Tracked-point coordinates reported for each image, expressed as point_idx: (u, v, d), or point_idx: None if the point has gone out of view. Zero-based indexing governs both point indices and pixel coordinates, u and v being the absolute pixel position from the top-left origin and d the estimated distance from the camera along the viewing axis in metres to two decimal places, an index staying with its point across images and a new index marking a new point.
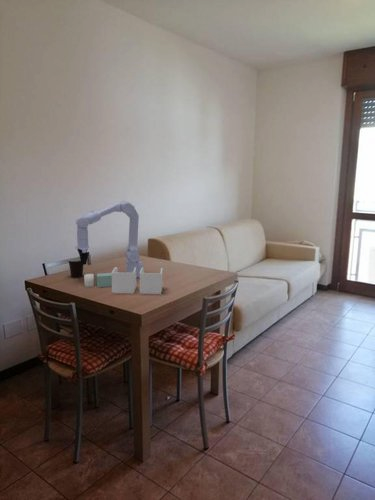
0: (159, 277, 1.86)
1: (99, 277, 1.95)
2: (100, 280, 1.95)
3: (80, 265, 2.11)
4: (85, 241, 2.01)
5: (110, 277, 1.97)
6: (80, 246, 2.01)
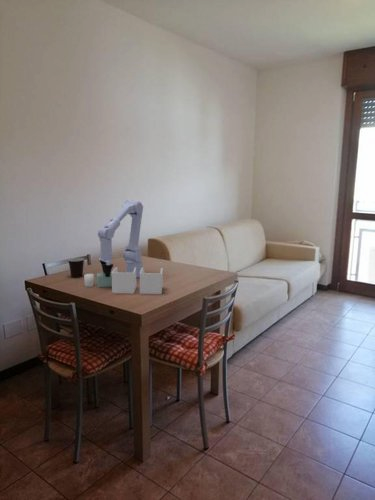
0: (159, 277, 1.86)
1: (99, 277, 1.95)
2: (100, 280, 1.95)
3: (80, 265, 2.11)
4: (109, 253, 1.94)
5: (110, 277, 1.97)
6: (104, 258, 1.94)
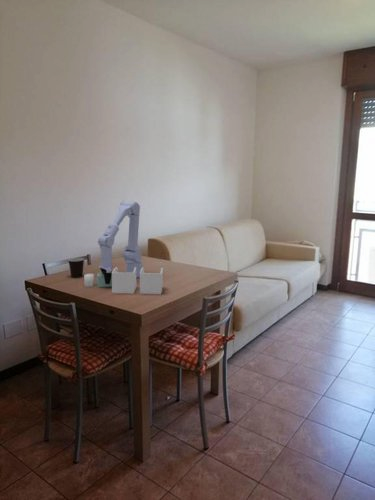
0: (159, 277, 1.86)
1: (99, 277, 1.95)
2: (100, 280, 1.95)
3: (80, 265, 2.11)
4: (109, 260, 1.95)
5: None
6: (104, 265, 1.95)
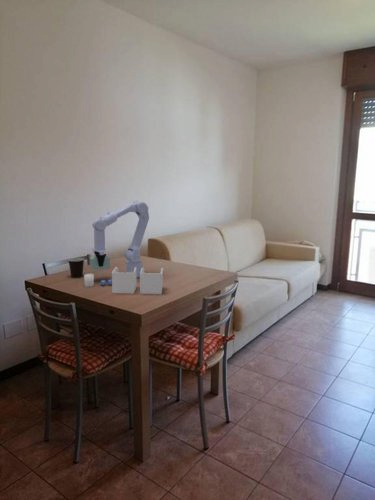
0: (159, 277, 1.86)
1: (92, 260, 2.02)
2: (93, 263, 2.02)
3: (80, 265, 2.11)
4: (102, 243, 2.02)
5: None
6: (97, 248, 2.02)
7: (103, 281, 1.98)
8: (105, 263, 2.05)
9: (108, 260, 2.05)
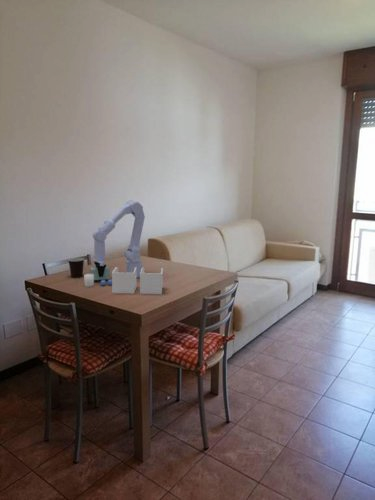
0: (160, 277, 1.86)
1: (92, 270, 2.03)
2: (93, 273, 2.04)
3: (80, 265, 2.11)
4: (102, 254, 2.03)
5: None
6: (97, 259, 2.03)
7: (103, 281, 1.98)
8: (105, 273, 2.06)
9: (108, 270, 2.06)
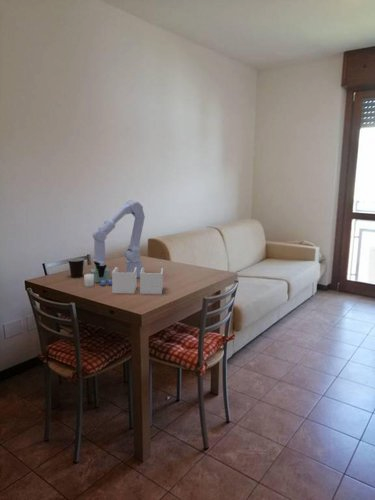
0: (160, 277, 1.86)
1: (93, 272, 2.03)
2: None
3: (80, 265, 2.11)
4: (102, 254, 2.03)
5: None
6: (97, 259, 2.03)
7: (103, 281, 1.98)
8: (105, 275, 2.06)
9: (108, 272, 2.06)
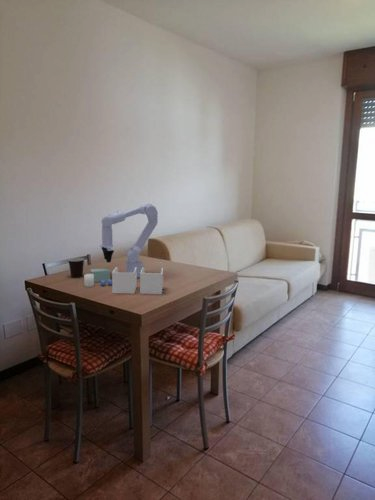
0: (160, 277, 1.86)
1: (93, 272, 2.03)
2: None
3: (80, 265, 2.11)
4: (110, 240, 2.08)
5: (103, 272, 2.05)
6: (105, 244, 2.08)
7: (103, 281, 1.98)
8: (105, 275, 2.06)
9: (108, 272, 2.06)
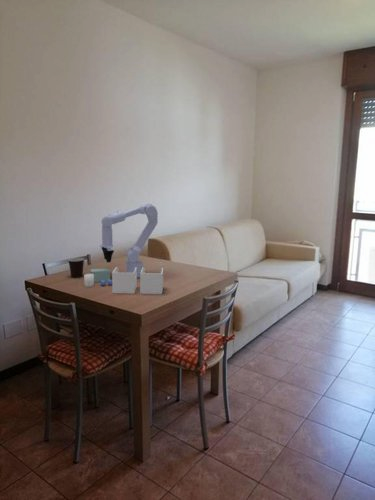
0: (160, 277, 1.86)
1: (93, 272, 2.03)
2: None
3: (80, 265, 2.11)
4: (110, 240, 2.08)
5: (103, 272, 2.05)
6: (105, 244, 2.08)
7: (103, 281, 1.98)
8: (105, 275, 2.06)
9: (108, 272, 2.06)
